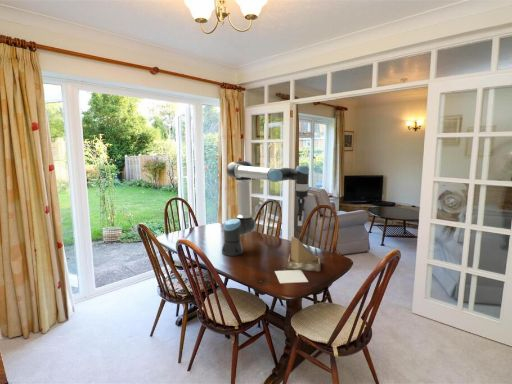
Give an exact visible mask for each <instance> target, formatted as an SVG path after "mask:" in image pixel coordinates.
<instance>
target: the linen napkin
mask: <svg viewBox="0 0 512 384" xmlns="http://www.w3.org/2000/svg"><path fill="white" fill-rule="evenodd" d="M274 274H275V275H276V277H277V280H278V282H279V284H282V285H283V284H297V283H298V284H299V283H309V280H308V279H307V277H306V276H305V274H304V272H303V270H293V269H287V270H274Z"/></svg>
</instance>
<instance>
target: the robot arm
mask: <svg viewBox="0 0 512 384" xmlns="http://www.w3.org/2000/svg"><path fill="white" fill-rule="evenodd" d="M226 173H227V175H228V176H229V177H230V178H232V179H235V181H236V182H237V201H238V203H237V207H238V214H237V215H236V218H230V219H227V220H225V222H224V224H223V238H224V239H223V240H224V241H223V245H222V248H221V253H222V254H223V255H224V256H229V257H236V256H240V255H243V253H244V249H243V246H242V245H243V244H242V242H241V237H242V236H244V235H248V234H251V233H252V232H254V231H255V229H256V225H257V224H256V221H255V219H254V218H253V215H252V214H251V196H250V195H251V194H250V192H251V191H250V189H251V188H250V183H251V181H252V179H255V180H256V179H257V180H263V181H270V182H273V183H277V182H283V181H295V197H298V199H297V202H298V204H297V206H298V211H297V214H296V216H297V227H301V226H303V221H304V211H306V210H305V208H304V207H305V198H307V197H308V196H309V195H308V194H309V191H308V190H309V189H308V188H309V187H310V185H309V174H310V170H309V166H308V165H296V168H294V167H293V168H292V167H281V168H271V167H262V166H261V167H260V166H259V167H258V166H254V165H253V163H251V162H250V161H248V160H247V161H246V160H243V161H241V160H240V161H231V162H230V163H228V165H227V167H226Z"/></svg>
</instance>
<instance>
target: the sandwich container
mask: <svg viewBox="0 0 512 384" xmlns="http://www.w3.org/2000/svg"><path fill="white" fill-rule="evenodd" d="M290 249H291V252H290V254H291V259H292V260H294V261H295V262H297V263H304V262H310V261H315V260H318V259H317V258H316V257H315V255H314V253H312V252H311V251H310V249H308V248H307V247H306V246H305V244H303V243H302V242H301V241H300V239H298V238H296V237H294V236H291V248H290Z"/></svg>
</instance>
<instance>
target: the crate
mask: <svg viewBox="0 0 512 384" xmlns="http://www.w3.org/2000/svg"><path fill="white" fill-rule="evenodd" d="M314 256H315V255H314ZM315 257H316V258H317V259H318V260H315V261H310V262H304V263H297V262H295V261H294V260H292V259H291V253H289V254H288V259H287V264H286V265H287V270H301V271H305V272H306V271H309V272H321V258H320V257H321V256H320V255H317V256H315Z"/></svg>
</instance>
